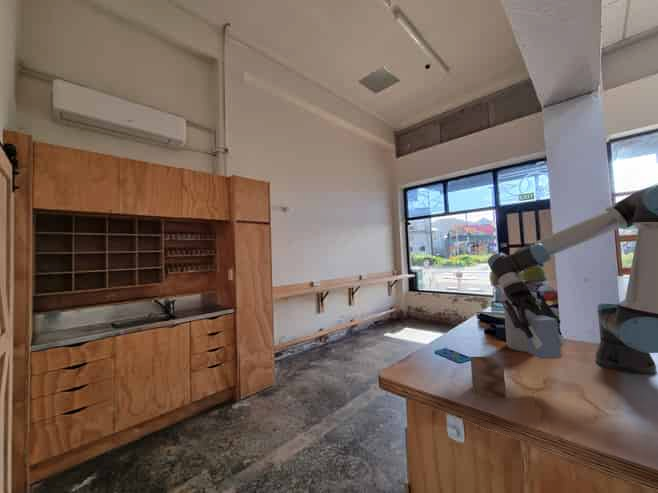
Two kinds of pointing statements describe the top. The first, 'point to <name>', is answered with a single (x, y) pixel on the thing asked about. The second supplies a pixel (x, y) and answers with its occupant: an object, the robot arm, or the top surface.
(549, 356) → the blue block
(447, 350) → the handheld gaming device
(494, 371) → the tower top
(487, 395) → the tower base
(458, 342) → the top surface
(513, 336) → the grey cylinder
